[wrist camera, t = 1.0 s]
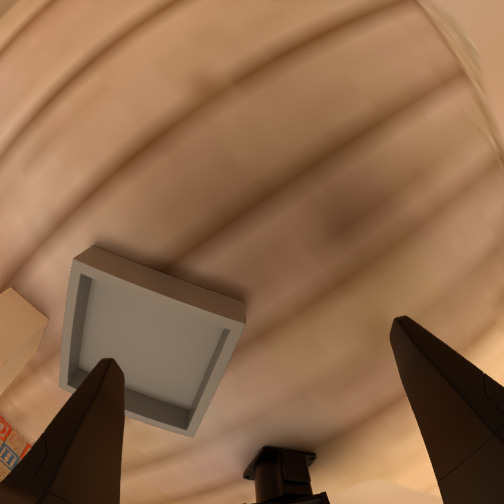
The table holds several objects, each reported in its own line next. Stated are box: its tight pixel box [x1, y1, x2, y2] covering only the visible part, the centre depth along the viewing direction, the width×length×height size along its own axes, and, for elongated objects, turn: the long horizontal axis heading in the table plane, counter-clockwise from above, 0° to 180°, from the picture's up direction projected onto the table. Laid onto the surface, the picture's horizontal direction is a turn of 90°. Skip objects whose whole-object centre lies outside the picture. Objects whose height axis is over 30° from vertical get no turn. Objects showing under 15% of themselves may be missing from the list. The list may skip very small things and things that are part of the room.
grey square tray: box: [59, 246, 246, 438], centre depth 24 cm, size 13×13×4 cm
